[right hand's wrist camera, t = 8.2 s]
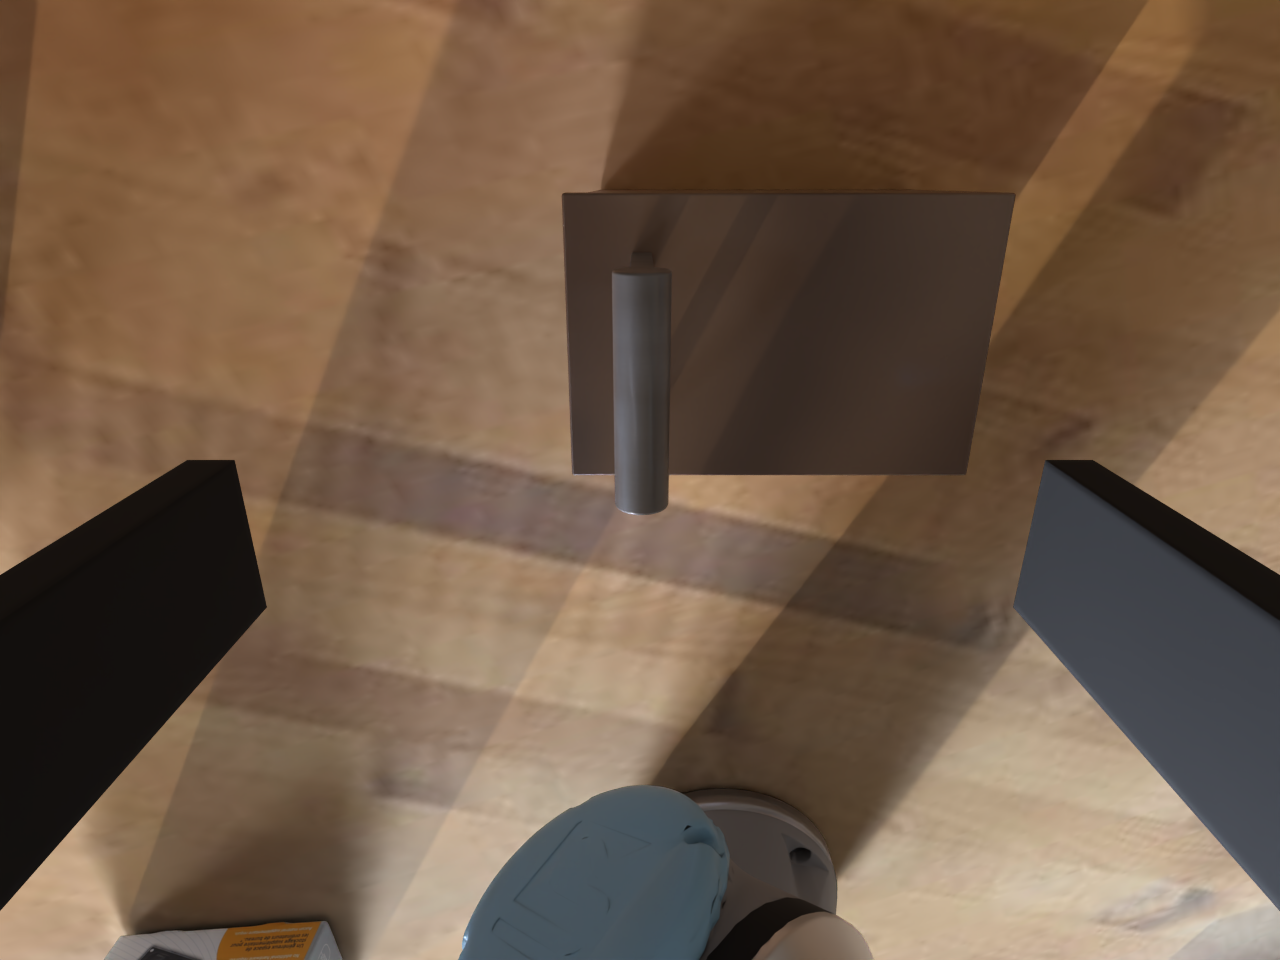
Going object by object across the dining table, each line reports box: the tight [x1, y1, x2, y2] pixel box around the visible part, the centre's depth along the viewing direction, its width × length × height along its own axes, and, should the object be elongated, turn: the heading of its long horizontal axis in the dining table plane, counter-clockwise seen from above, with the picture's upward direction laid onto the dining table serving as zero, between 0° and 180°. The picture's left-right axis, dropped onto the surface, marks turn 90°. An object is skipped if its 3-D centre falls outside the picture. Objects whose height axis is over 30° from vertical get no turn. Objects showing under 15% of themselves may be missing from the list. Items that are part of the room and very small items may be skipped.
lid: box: [562, 193, 1015, 515], centre depth 23 cm, size 15×10×9 cm
